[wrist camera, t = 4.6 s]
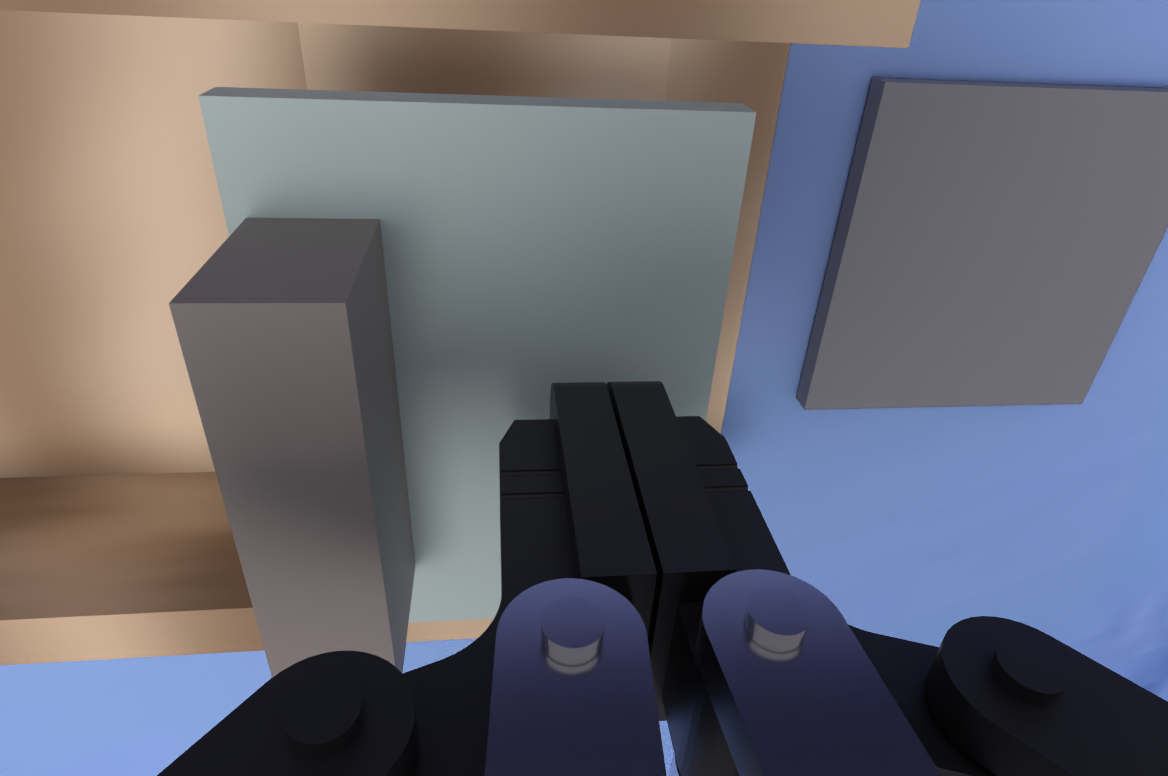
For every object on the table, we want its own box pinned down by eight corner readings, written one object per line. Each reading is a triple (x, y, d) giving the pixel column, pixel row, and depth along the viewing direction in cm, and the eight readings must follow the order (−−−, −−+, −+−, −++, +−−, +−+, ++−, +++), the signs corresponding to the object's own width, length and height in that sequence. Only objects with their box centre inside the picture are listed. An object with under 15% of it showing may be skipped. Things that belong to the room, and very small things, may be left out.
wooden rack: (776, -40, 14) (928, -31, 9) (696, 459, 20) (760, 622, 15) (-425, -106, 11) (-1088, -143, 7) (-93, 482, 18) (-312, 683, 13)
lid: (742, 103, 9) (839, 164, 7) (668, 584, 14) (709, 732, 11) (215, 86, 9) (93, 148, 6) (320, 601, 13) (278, 764, 11)
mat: (1208, 90, 16) (1232, 94, 16) (1067, 392, 20) (1082, 403, 20) (872, 77, 15) (885, 81, 15) (796, 397, 19) (804, 409, 19)
